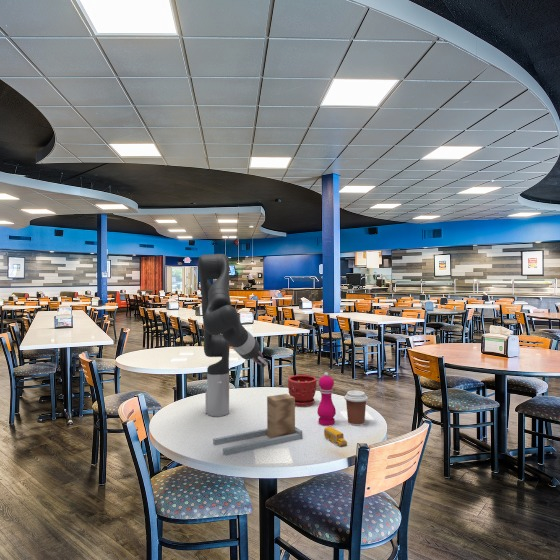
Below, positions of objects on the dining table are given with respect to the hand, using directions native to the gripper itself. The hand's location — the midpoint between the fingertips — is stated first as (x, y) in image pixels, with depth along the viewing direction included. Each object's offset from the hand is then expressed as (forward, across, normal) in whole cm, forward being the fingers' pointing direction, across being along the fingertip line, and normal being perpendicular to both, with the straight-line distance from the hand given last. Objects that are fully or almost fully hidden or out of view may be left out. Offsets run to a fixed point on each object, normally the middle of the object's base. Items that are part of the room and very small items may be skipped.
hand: (264, 364), depth 148 cm
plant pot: (+50, +2, 0) cm, 50 cm away
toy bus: (+18, -32, +4) cm, 37 cm away
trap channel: (+8, -14, +21) cm, 27 cm away
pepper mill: (+32, -20, 0) cm, 38 cm away
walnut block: (+14, -16, +15) cm, 26 cm away
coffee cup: (+36, -28, -7) cm, 46 cm away
